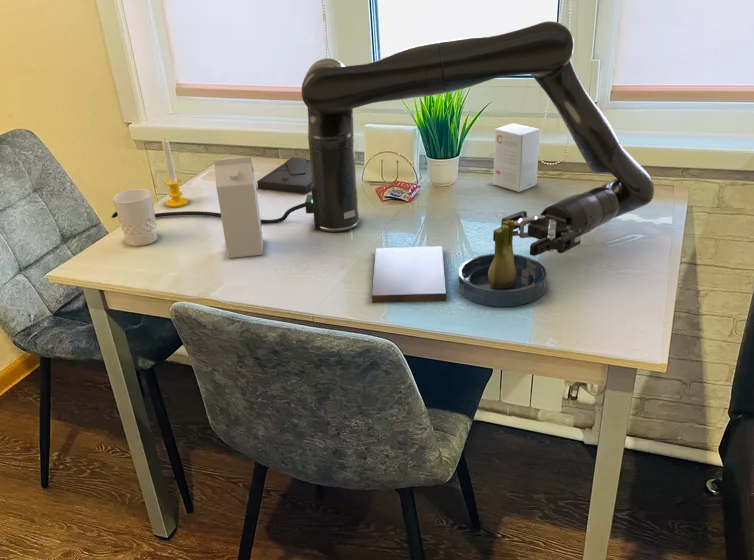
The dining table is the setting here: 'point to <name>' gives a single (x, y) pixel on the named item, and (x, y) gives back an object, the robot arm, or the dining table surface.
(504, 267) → the fennel bulb
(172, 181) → the candle
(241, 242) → the milk carton
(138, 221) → the white cup
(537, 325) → the dining table surface
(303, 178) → the picture frame
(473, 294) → the bowl
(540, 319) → the dining table surface
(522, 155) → the small box
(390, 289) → the board
